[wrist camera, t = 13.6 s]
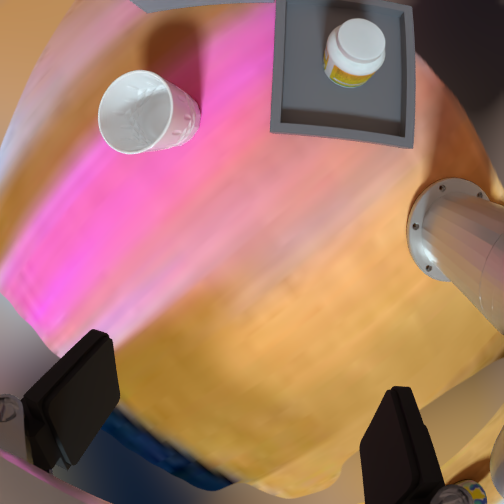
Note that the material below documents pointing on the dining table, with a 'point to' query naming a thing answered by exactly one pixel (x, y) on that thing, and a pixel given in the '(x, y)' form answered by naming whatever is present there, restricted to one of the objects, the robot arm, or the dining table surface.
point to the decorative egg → (474, 491)
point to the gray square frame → (185, 3)
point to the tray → (335, 96)
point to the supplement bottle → (354, 52)
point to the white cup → (146, 114)
